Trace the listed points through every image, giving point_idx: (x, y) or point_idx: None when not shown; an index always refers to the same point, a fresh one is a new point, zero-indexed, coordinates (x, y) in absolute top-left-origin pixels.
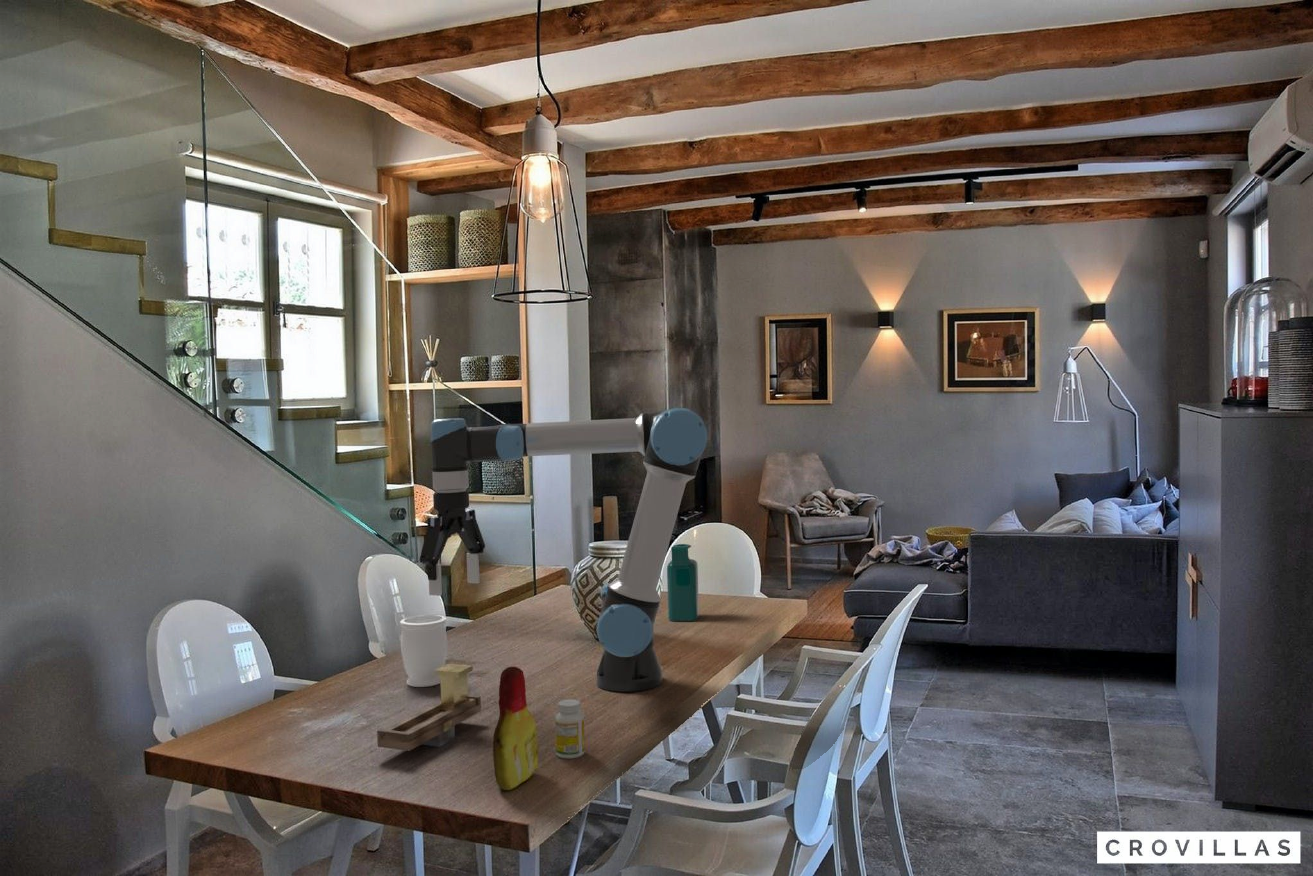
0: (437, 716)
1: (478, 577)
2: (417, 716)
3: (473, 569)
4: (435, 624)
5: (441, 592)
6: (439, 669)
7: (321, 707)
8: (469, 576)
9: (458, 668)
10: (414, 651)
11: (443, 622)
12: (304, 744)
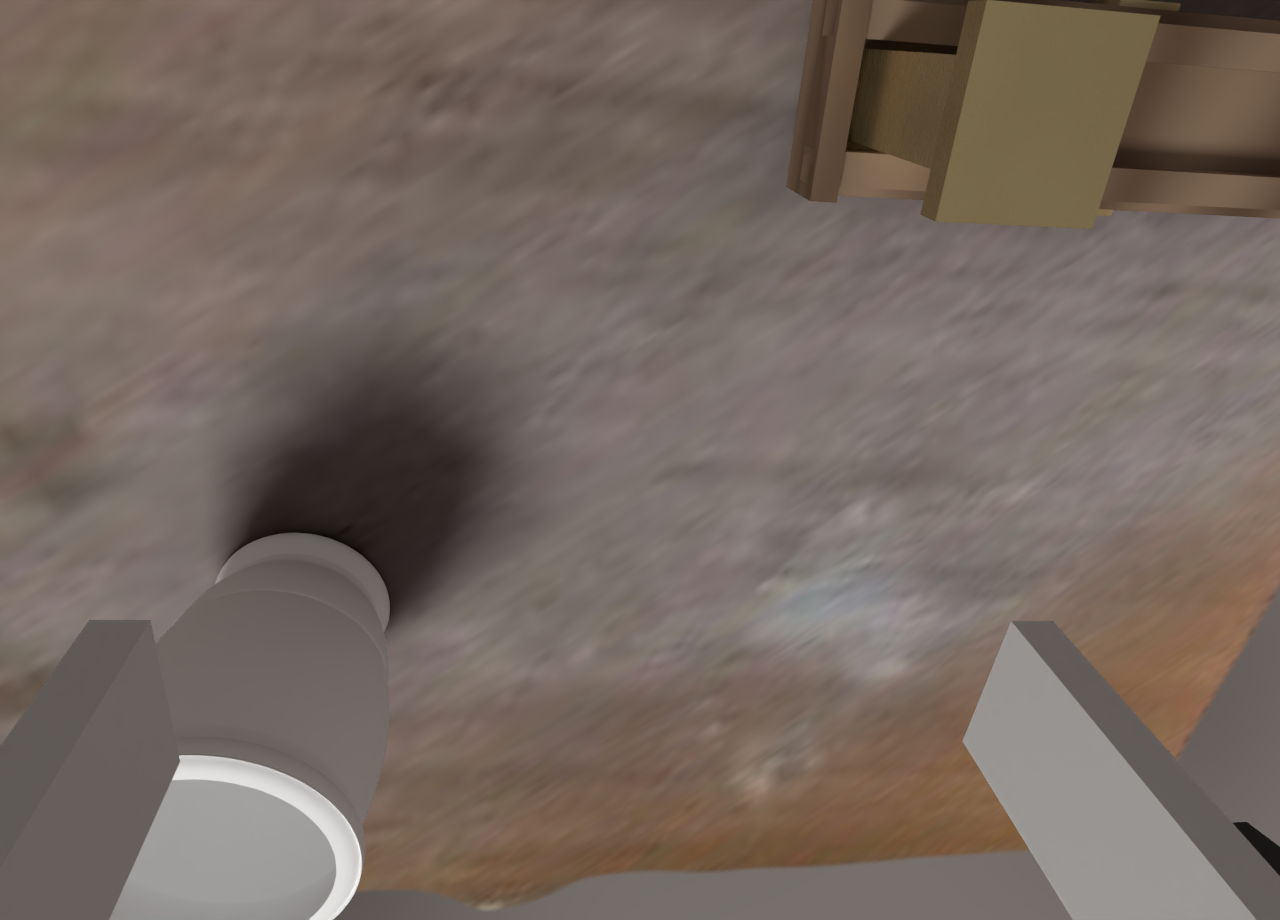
0: (1179, 57)
1: (75, 688)
2: (1167, 170)
3: (52, 875)
4: (250, 755)
5: (1044, 643)
6: (1078, 204)
7: (719, 735)
8: (135, 819)
9: (1057, 76)
10: (382, 708)
11: None
12: (1084, 551)
